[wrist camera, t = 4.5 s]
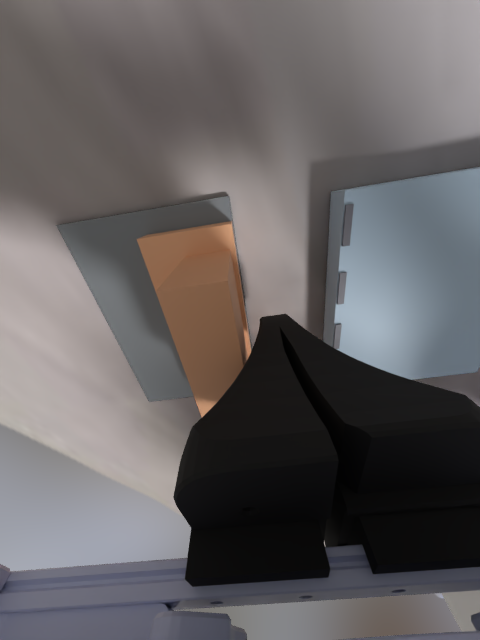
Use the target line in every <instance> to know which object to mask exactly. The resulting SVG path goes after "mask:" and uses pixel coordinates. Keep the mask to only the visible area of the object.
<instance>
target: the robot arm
mask: <svg viewBox="0 0 480 640" xmlns="http://www.w3.org/2000/svg"><path fill="white" fill-rule="evenodd" d="M174 500H175V503H176V505H177V507H178V509H179V510H180V512H181V513H182V515H183V516H184V518H185V519H186V520H187V522H188V524H189V525H190V526H191V536H190V543H189V551H188V558H180V559H167V560H154V561H141V562H128V563H115V564H102V565H89V566H76V567H64V568H50V569H37V570H26V571H25V570H24V571H12V572H10V569H9V568H7V567H5V566H3V565H1V564H0V640H247V634H246V632H245V630H244V629H242V628H239V627H236V626H233V625H231V619H230V618H229V616H228V615H227V614H221V613H220V614H219V613H204V612H190V611H174V610H178V609H179V610H180V609H194V608H210V607H226V606H241V605H258V604H273V603H288V602H304V601H319V600H320V601H321V600H336V599H352V598H367V597H383V596H399V595H415V594H430V593H446V592H462V591H477V590H480V407H479V406H477V405H476V404H475V403H474V402H473V401H472V400H470V399H469V398H468V397H467V396H465V395H463V394H459V393H455V392H452V391H448V390H445V389H441V388H437V387H434V386H430V385H427V384H423V383H419V382H416V381H413V380H410V379H407V378H404V377H401V376H398V375H395V374H392V373H389V372H387V371H384V370H381V369H378V368H376V367H374V366H371V365H369V364H366V363H364V362H362V361H359V360H357V359H355V358H353V357H350V356H348V355H346V354H345V353H343V352H341V351H339V350H337V349H335V348H333V347H331V346H330V345H328V344H326V343H325V342H323V341H321V340H320V339H318V338H317V337H315V336H314V335H312V334H311V333H309V332H308V331H307V330H305V329H304V328H303V327H301V326H300V325H299V324H298V323H296V322H295V321H294V320H293V319H292V318H290V317H289V316H288V315H287V314H281V315H274V316H266V317H262V318H261V319H260V327H259V332H258V335H257V338H256V341H255V344H254V346H253V349H252V351H251V353H250V356H249V358H248V359H247V361H246V363H245V365H244V367H243V368H242V370H241V372H240V373H239V375H238V376H237V378H236V379H235V381H234V382H233V383H232V385H231V386H230V387H229V388H228V390H227V391H226V392H225V393H224V395H223V396H222V397H221V398H220V399H219V401H218V402H217V403H216V404H215V405H214V406H213V407H212V408H211V409H210V410H209V411H208V412H207V413H206V414H205V415H204V416H203V417H202V418H201V419H200V420H199V421H198V422H197V423H196V424H195V425H194V426H193V427H192V429H191V432H190V434H189V437H188V440H187V442H186V446H185V449H184V452H183V455H182V458H181V462H180V466H179V472H178V477H177V482H176V487H175V492H174ZM324 540H325V545H326V547H325V546H324ZM471 622H472V624H473V626H474V627H475V629H476V631H467V632H447V633H429V634H411V635H395V636H382V637H381V636H380V637H368V638H367V637H366V638H353V639H341V640H480V613H476V614H473V615H471Z"/></svg>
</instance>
